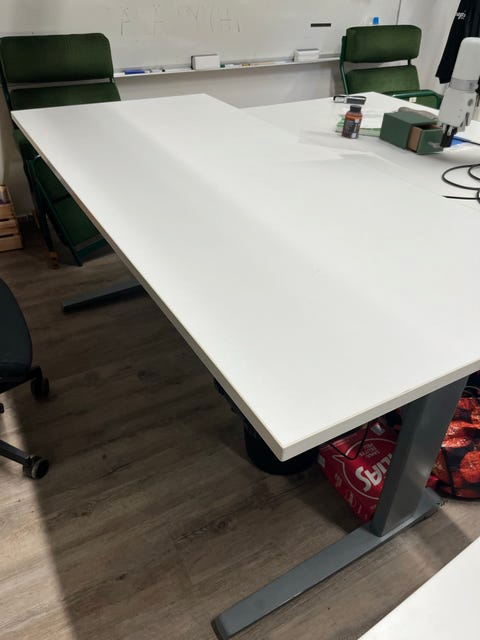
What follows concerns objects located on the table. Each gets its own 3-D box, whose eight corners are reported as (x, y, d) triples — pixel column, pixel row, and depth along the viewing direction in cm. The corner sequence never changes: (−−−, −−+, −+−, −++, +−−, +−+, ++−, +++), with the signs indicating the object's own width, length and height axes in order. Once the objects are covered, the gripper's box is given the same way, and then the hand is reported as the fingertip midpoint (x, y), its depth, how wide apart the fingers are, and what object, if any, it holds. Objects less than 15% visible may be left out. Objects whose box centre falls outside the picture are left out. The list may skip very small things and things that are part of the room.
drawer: (452, 155, 160) (458, 132, 156) (427, 158, 157) (433, 135, 152) (417, 140, 173) (422, 119, 169) (393, 142, 170) (398, 121, 165)
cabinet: (430, 148, 169) (437, 121, 163) (404, 151, 165) (410, 123, 160) (404, 136, 179) (410, 111, 174) (378, 139, 176) (383, 112, 170)
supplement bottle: (357, 142, 171) (365, 108, 165) (340, 139, 172) (347, 106, 165) (356, 138, 176) (364, 105, 170) (340, 136, 176) (347, 103, 170)
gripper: (491, 89, 140) (470, 152, 151) (454, 79, 151) (437, 139, 162) (472, 90, 138) (452, 154, 149) (436, 80, 149) (420, 141, 160)
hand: (445, 146), depth 155 cm, fingers closed
